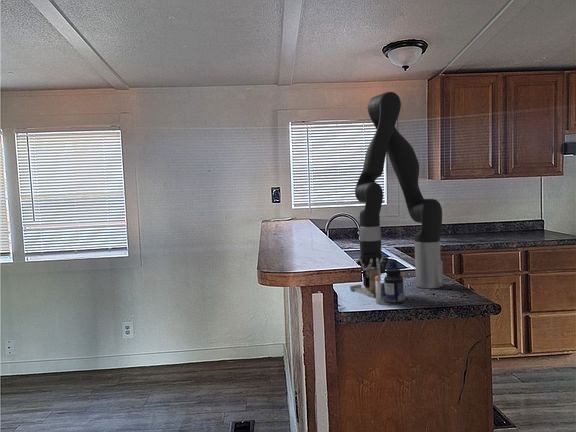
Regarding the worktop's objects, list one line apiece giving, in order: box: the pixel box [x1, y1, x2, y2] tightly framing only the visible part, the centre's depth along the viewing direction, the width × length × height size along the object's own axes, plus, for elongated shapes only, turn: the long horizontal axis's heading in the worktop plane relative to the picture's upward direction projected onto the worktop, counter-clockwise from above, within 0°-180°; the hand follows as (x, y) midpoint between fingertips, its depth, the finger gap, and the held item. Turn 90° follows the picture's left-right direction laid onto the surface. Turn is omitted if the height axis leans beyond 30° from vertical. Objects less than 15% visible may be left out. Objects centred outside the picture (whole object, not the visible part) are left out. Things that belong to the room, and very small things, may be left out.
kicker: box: [363, 268, 385, 298], centre depth 157 cm, size 8×11×8 cm
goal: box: [375, 271, 406, 305], centre depth 151 cm, size 12×2×9 cm, turn 115°
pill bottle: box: [383, 268, 404, 305], centre depth 150 cm, size 6×6×11 cm
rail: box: [349, 284, 376, 299], centre depth 164 cm, size 4×14×2 cm, turn 25°
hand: (372, 286), depth 161 cm, fingers closed on kicker, 3 cm apart
